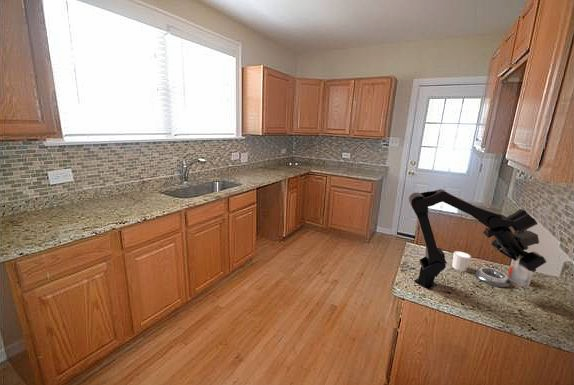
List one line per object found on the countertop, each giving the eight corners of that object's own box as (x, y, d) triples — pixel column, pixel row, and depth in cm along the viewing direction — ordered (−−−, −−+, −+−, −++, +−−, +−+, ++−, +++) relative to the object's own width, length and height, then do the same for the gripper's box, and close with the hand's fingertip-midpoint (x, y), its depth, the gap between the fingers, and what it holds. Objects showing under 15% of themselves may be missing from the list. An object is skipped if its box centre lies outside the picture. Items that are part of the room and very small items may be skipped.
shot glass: (451, 262, 127) (454, 249, 125) (468, 267, 123) (472, 254, 121) (449, 268, 122) (452, 254, 120) (467, 273, 118) (470, 259, 116)
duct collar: (502, 290, 106) (504, 284, 105) (469, 275, 116) (471, 269, 115) (514, 282, 112) (516, 276, 111) (482, 269, 122) (484, 263, 121)
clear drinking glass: (525, 287, 97) (535, 256, 94) (507, 279, 102) (516, 249, 98) (531, 283, 100) (541, 253, 96) (513, 276, 104) (522, 246, 101)
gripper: (549, 235, 86) (573, 268, 88) (506, 216, 104) (527, 243, 106) (517, 255, 88) (541, 286, 91) (481, 232, 106) (502, 259, 109)
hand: (528, 266), depth 99 cm, fingers closed on clear drinking glass, 6 cm apart
